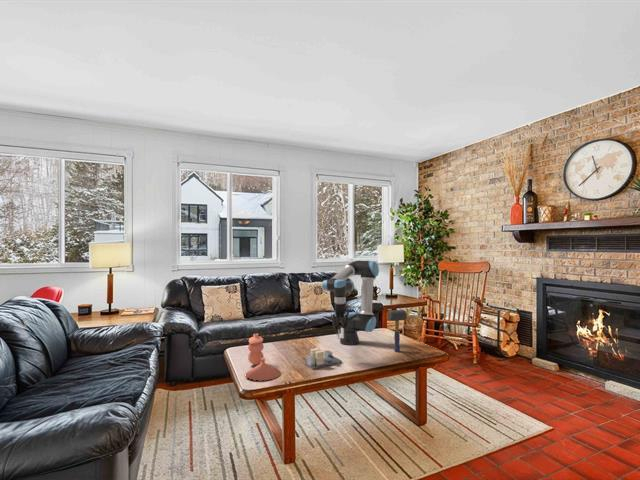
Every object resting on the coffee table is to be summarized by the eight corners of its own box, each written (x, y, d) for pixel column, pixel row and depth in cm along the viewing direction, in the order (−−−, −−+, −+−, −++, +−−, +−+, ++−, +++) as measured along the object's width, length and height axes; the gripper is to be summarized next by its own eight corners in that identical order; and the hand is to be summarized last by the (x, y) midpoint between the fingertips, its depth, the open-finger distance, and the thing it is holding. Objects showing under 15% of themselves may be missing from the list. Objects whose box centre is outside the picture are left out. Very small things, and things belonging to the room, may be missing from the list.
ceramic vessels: (285, 377, 202) (285, 344, 202) (249, 383, 194) (249, 349, 194) (269, 358, 234) (269, 330, 234) (238, 362, 226) (238, 334, 226)
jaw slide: (324, 359, 227) (324, 350, 227) (328, 358, 229) (328, 350, 229) (331, 363, 220) (331, 354, 220) (334, 362, 222) (334, 353, 222)
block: (310, 361, 223) (310, 349, 223) (317, 360, 226) (317, 348, 226) (317, 365, 216) (317, 352, 217) (323, 364, 219) (323, 351, 219)
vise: (305, 364, 222) (305, 353, 222) (333, 358, 234) (333, 348, 234) (313, 369, 214) (313, 358, 214) (342, 362, 225) (342, 352, 225)
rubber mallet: (402, 349, 252) (402, 308, 253) (407, 353, 245) (407, 310, 245) (386, 351, 249) (386, 309, 250) (391, 354, 242) (391, 311, 242)
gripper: (333, 305, 223) (333, 341, 223) (353, 302, 232) (353, 337, 232) (326, 303, 230) (326, 338, 230) (346, 301, 238) (346, 335, 238)
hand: (340, 338), depth 231 cm, fingers open, 3 cm apart
